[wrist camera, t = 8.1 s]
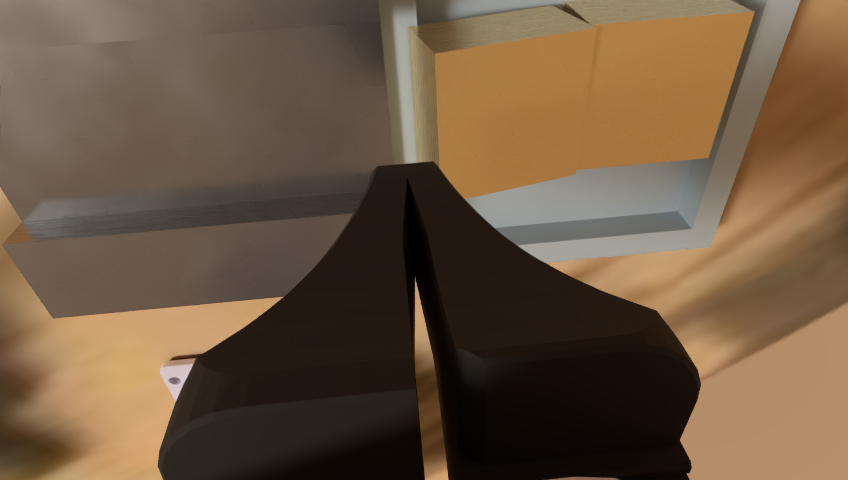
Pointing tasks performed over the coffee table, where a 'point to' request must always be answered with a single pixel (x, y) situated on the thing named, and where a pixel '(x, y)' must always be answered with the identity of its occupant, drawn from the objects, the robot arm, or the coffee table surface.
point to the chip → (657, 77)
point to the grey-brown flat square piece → (185, 144)
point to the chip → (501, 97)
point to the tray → (611, 186)
